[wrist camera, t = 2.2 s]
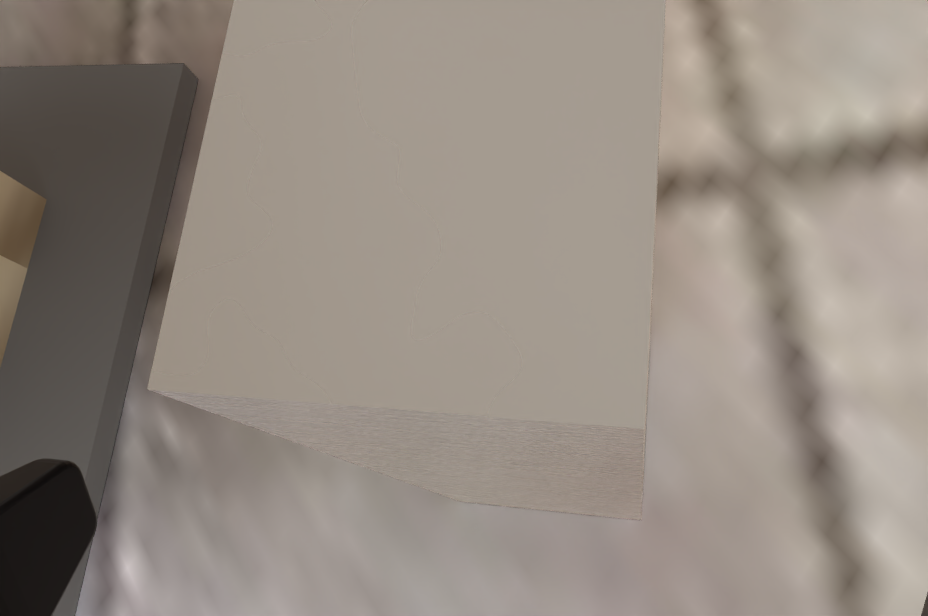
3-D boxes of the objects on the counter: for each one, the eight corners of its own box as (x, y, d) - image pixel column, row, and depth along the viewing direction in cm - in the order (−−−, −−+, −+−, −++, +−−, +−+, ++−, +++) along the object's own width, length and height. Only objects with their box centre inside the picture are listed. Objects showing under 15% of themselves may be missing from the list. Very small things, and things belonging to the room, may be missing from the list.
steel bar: (641, 520, 17) (645, 428, 6) (460, 501, 18) (146, 389, 7) (650, 340, 19) (667, -41, 7) (478, 331, 19) (238, -21, 8)
